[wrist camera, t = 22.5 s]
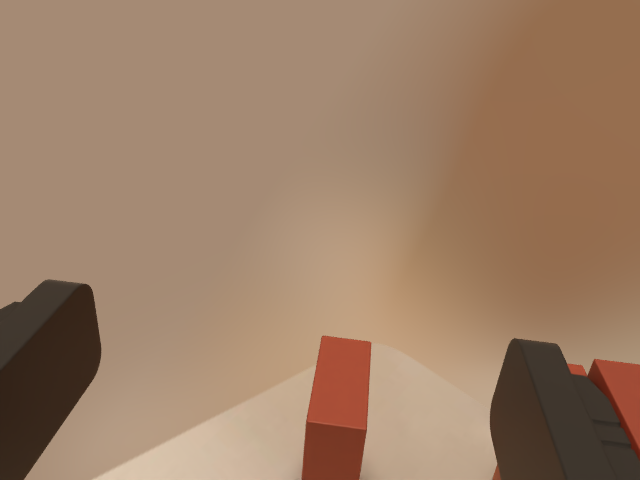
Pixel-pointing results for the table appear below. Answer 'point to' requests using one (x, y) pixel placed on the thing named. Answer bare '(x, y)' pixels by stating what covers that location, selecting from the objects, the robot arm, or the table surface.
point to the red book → (337, 411)
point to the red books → (615, 395)
